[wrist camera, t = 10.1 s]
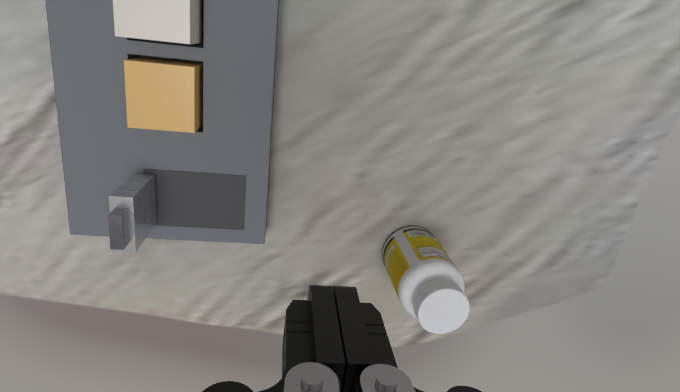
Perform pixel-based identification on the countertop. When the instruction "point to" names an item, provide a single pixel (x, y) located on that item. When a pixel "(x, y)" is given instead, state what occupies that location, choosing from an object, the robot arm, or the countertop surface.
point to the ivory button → (159, 20)
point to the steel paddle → (132, 212)
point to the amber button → (164, 94)
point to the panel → (168, 146)
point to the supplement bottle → (426, 280)
